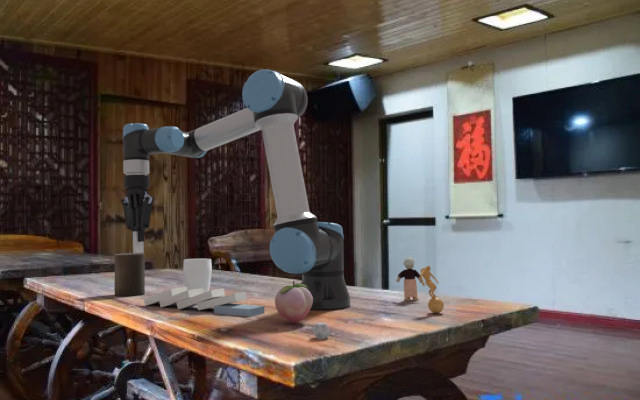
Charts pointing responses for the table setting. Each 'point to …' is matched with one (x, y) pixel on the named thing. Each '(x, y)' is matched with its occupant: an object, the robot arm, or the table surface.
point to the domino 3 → (200, 298)
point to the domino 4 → (222, 300)
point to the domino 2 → (180, 297)
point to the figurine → (431, 291)
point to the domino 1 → (163, 296)
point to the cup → (197, 273)
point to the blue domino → (239, 309)
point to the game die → (321, 331)
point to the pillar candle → (129, 274)
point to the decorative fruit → (293, 302)
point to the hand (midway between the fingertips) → (138, 252)
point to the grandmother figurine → (409, 280)
